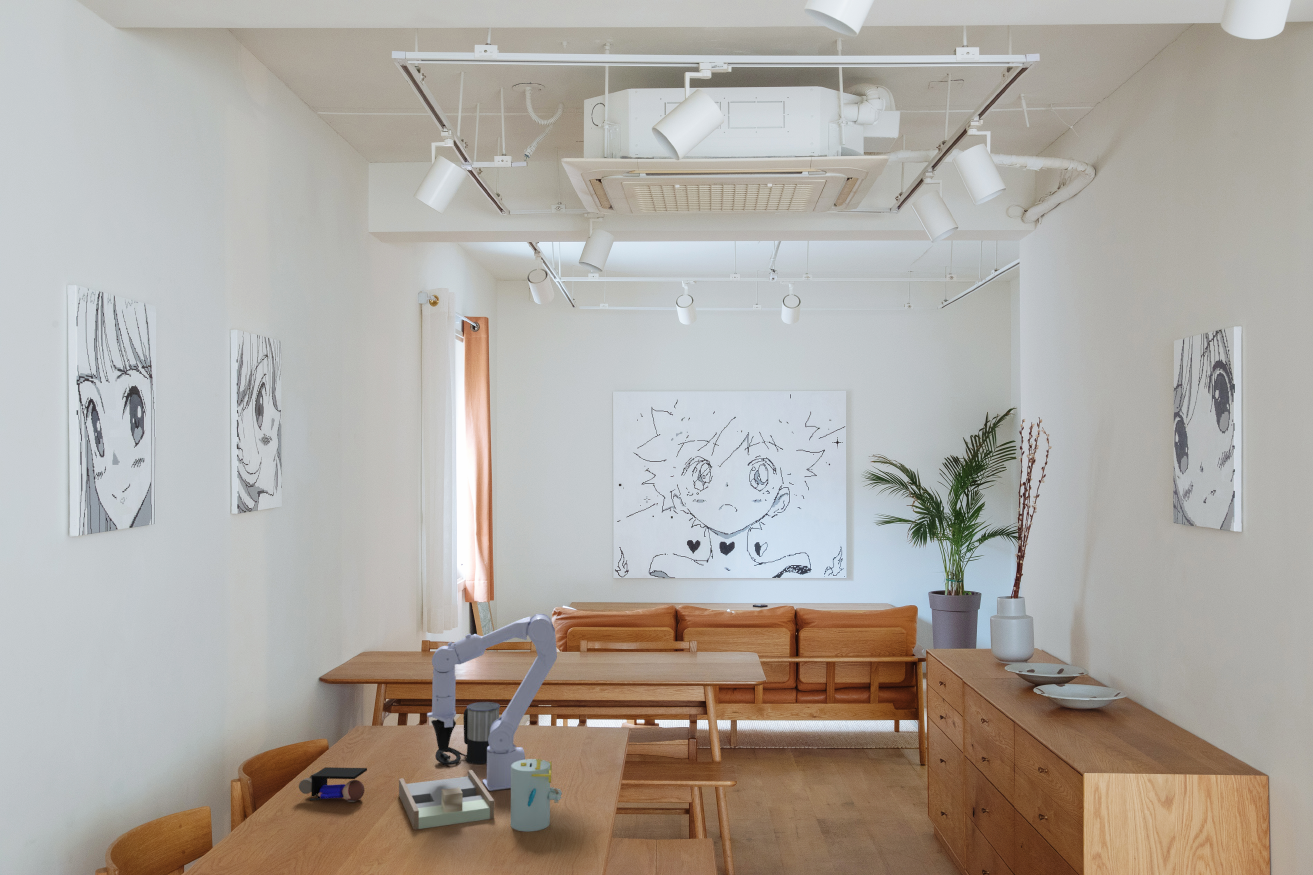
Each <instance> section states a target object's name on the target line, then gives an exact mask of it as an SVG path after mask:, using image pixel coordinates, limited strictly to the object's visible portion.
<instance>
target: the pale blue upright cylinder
mask: <svg viewBox="0 0 1313 875" xmlns="http://www.w3.org/2000/svg"><path fill="white" fill-rule="evenodd" d="M552 766H553V764H552V761H549V760H548V761H547V760H544V759H541V758H528V759H526V758H525V760H520V761H517V762H514V763H513V764H512V765H511V788H510V828H512V829H513V830H516V831H520V832H537V831H541V830H544V829H546V828H548V827H549V826H550V823H551V820H550V819H551V816H550V815H551V801H554V802H553V803H554V804H559V800H561V799H562V795H563V793H562V789H560V788H556V787H552V786H551V784H552V772H553V771H552V770H553V769H552Z"/></svg>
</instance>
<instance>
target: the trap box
mask: <svg viewBox="0 0 1313 875" xmlns="http://www.w3.org/2000/svg"><path fill="white" fill-rule="evenodd" d="M458 787H459V788H460V789H461V791H462V793H463V798H462V811H456V812H449V813H444V811H443V809H442V807H441V806H442V789H450V788H458ZM398 796H399V798H400V802H401V804H402V806H403V808H404V810H405V813H406V815H407V817H408V819H409V822H410V824H411V826H412V828H413V830H414V831H415V830H421V829H427V828H436V827H442V826H448V825H456V824H464V823H471V822H478V821H485V820H489V819H490V820H491V819H494V818H495V799H494V798H493V797H492V795H491V794H490V793H489V790H488V789H487V787H486V786H485V785H484V783H483V782H482V781H481V780H480V779H479V777H478V776H477V775H476V773H475V771H473V769H469V770H467V776H460V777H451V778H443V779H436V780H427V781H420V782H418V781H417V782H412V783H406V781H405V779H404V778H399V779H398Z"/></svg>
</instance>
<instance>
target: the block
mask: <svg viewBox="0 0 1313 875" xmlns="http://www.w3.org/2000/svg"><path fill="white" fill-rule="evenodd" d="M462 798H463V793H462V791H461V789H460V788H459V787H458V788H450V789H442V806H441V807H442V809H443V811H444V813H449V812H456V811H462Z"/></svg>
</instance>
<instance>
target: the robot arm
mask: <svg viewBox="0 0 1313 875" xmlns="http://www.w3.org/2000/svg"><path fill="white" fill-rule="evenodd" d="M527 636H528V638H529V639H530V640H531V642H532V643H533V645H534V646H535V651H536V654H537V656H536V657H535V659H534V661H533V663H532V665H531V666H530V668H529V669H528V671H527V672H526V674H525V677H524V678H523V680H522V681H521V683H520V685H519V687H518V688H517V690H516V691H515V693H514V695H513V697H512V698H511V700H510V701H509V703H508V705H507V707H506V708H505V709H504V711H503V712H502V714H501V715H500V716H499V718H498V719H497V720H495V721H494V722H493V723H492V725H491V727H490V734H489V737H488V743H489V746H488V747H487V764H486V778H484V779H482V781H481V783H482V784H483V786H484V787H485V788H486V790H487V791H488V792H489V791H491V792H492V791H498V790H500V791H501V790H506V789H511V765H512V764H513V763H514V762H517V761H520V760H525V759H526V754H525V750H524V748H523V747H522V746H518V747H516V744H514V738H515V733H516V732H517V730H518V727H519V725H520V724H521V721H522V720H523V717H524V716H525V714H526V712H527V710H528V708H529V707H530V705H531V703H532V702H533V700H534V698H535V697H536V696H537V693H538V691H539V690H540V689H541V687H542V685H543V683H544V682H545V679H546V677H547V676H548V675H549V673H550V671H551V669H552V668H553V666H554V665H555V662H556V661H557V657H558V652H557V651H558V650H557V638H556V629H555V626H554V624H553V622H552V619H551V618H550V617H549V616H548V615H547V614H545V613H536V614H534V615H533V616H526V617H524V618H521V619H517V620H515V621H513V622H510V623H508V624H506V625H504V626H502V627H499V628H498V629H496V630H493V631H491V632H489V633H487V634H485V635H479V634H477V633H474V634H471V633H467V634H465V637H464V638H462V639H459V640H457V641H454V642H452V641H449V642H448V643H447V645H442V646H439V647H438V648H437V649H436V650H435V652H434V654H433V655H432V658H431V663H432V664H431V665H432V667H433V670H432V674H433V676H432V682H431V683H432V684H431V685H432V690H431V691H432V695H431V696H432V697H431V698H432V699H431V700H432V702H431V706H432V707H431V712H427V713H426V716H427V717H428V718H432V720H431V721H430V722H431V725H432V727H433V730H434V732H435V738H436V744H437V748H438V749H439V750H447V749H448V747H450V746H449V745H450V742H451V737H452V733H453V732H454V729H455V727H456V724H457V722H456V720H455V718H456V715H457V711H456V684H457V681H456V678H457V677H456V675H455V673H456V669H455V668H456V667H455V666H456V665H462V664H464V663H467V662H469V661H472V660H474V659H477V658H480V657H482V656H484V654H485V651H486V650H487V648H490V647H493V646H496V645H499V644H501V643H504V642H506V641H509V640H512V639H515V638H517V639H522V640H525V641H526V640H528V639H527Z"/></svg>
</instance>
